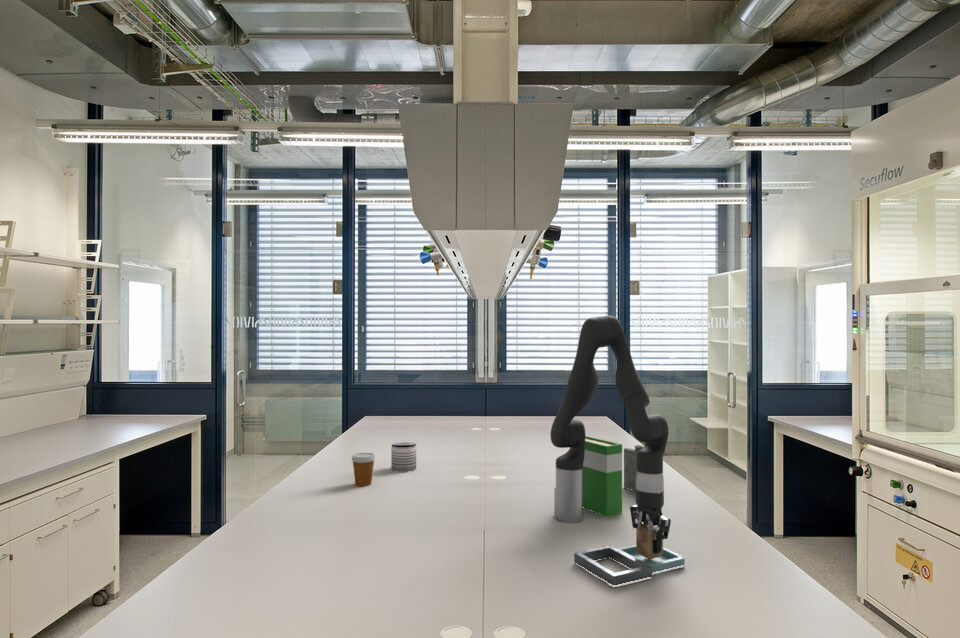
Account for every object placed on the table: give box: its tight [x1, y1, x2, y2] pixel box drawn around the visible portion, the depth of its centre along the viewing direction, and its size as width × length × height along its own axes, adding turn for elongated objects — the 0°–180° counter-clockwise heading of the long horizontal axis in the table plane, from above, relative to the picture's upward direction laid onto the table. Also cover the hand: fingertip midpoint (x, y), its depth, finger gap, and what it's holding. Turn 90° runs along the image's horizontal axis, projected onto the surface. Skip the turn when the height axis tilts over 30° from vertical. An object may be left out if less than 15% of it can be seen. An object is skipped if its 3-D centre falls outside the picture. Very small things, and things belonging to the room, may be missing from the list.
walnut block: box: [635, 526, 664, 559], centre depth 161 cm, size 5×5×7 cm
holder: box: [573, 544, 653, 585], centre depth 155 cm, size 17×12×3 cm
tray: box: [617, 544, 685, 573], centre depth 161 cm, size 13×13×2 cm
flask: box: [623, 444, 644, 492], centre depth 230 cm, size 4×14×18 cm, turn 28°
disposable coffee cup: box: [351, 452, 376, 487], centre depth 239 cm, size 10×10×12 cm
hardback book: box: [583, 435, 623, 517], centre depth 209 cm, size 18×7×24 cm, turn 33°
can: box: [390, 441, 417, 473], centre depth 264 cm, size 11×11×12 cm
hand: (649, 549), depth 161 cm, fingers closed on walnut block, 5 cm apart
